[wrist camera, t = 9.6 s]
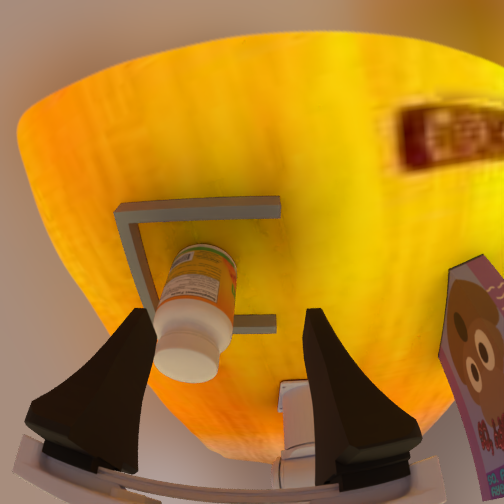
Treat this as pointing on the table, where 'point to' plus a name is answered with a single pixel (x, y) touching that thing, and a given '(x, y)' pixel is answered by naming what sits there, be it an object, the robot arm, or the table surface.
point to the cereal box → (477, 364)
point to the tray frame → (189, 211)
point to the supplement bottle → (195, 314)
